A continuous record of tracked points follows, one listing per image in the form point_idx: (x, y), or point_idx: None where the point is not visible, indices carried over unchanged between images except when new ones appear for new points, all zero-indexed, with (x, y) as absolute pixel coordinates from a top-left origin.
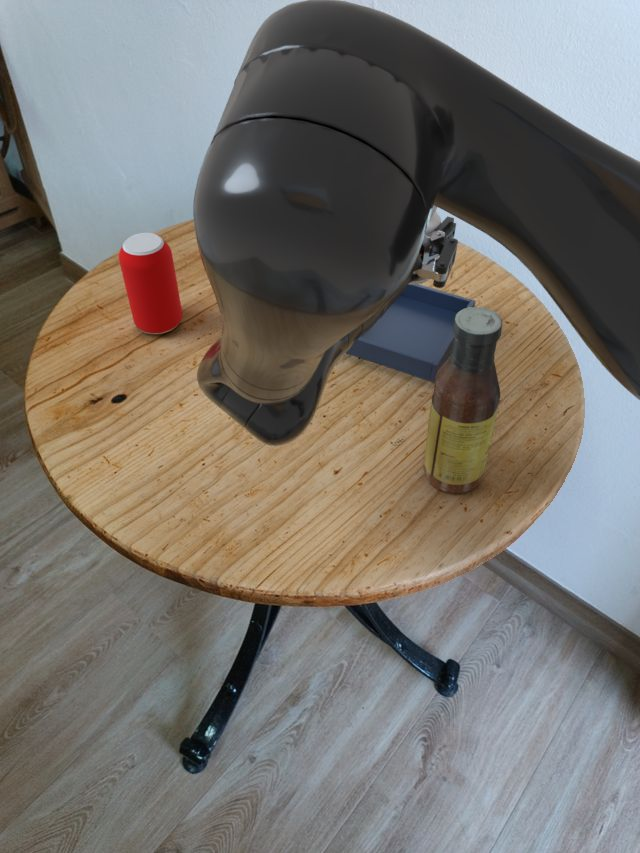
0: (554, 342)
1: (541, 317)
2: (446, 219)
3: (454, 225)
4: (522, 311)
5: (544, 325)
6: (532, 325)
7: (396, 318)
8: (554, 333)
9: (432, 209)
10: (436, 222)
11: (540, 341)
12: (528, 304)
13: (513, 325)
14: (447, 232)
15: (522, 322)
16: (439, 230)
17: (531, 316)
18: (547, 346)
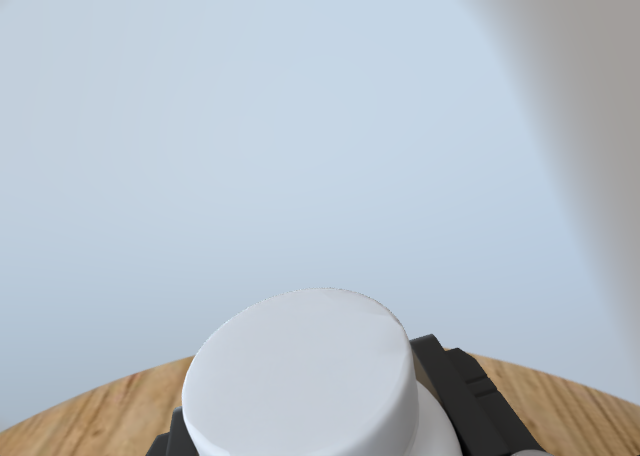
0: (624, 409)
1: (532, 374)
2: (426, 360)
3: (468, 361)
4: (497, 385)
5: (558, 386)
6: (548, 402)
7: None
8: (592, 390)
9: (416, 382)
10: (437, 415)
11: (609, 428)
12: (484, 364)
13: (530, 429)
14: (510, 422)
15: (529, 409)
16: (500, 452)
17: (520, 384)
18: (633, 429)
